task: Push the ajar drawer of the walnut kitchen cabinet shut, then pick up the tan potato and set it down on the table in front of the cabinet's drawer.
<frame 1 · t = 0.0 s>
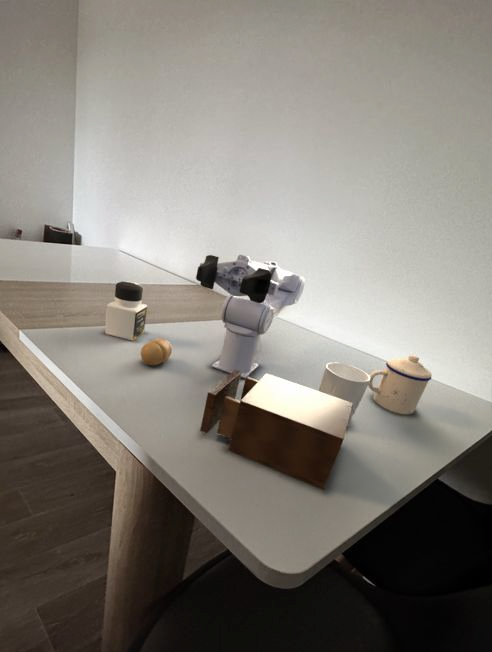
hand: (220, 279, 62), 22 cm above the table, tool horizontal, fingers open, 7 cm apart
drawer: (253, 411, 62), point 4 cm above the table, slide at 4.0 cm
potato: (155, 362, 82), on the table
cabinet: (284, 448, 62), on the table
teacup with lid: (386, 404, 86), on the table
white cup: (330, 419, 74), on the table
medicine bottle: (125, 334, 94), on the table
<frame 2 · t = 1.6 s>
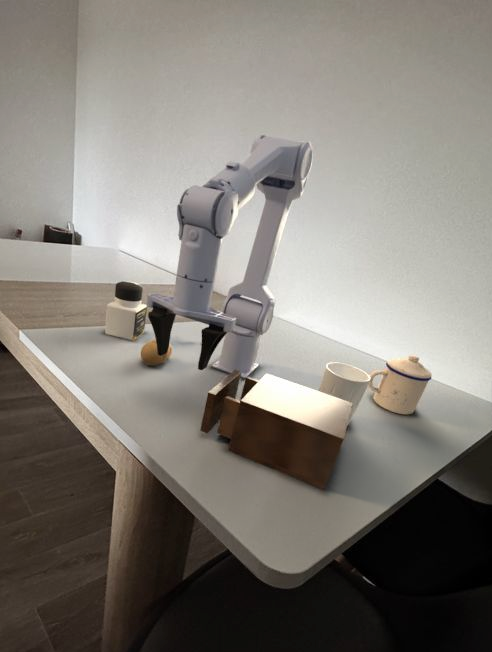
hand: (182, 360, 64), 8 cm above the table, tool pointing down, fingers open, 7 cm apart
nothing on the table moved.
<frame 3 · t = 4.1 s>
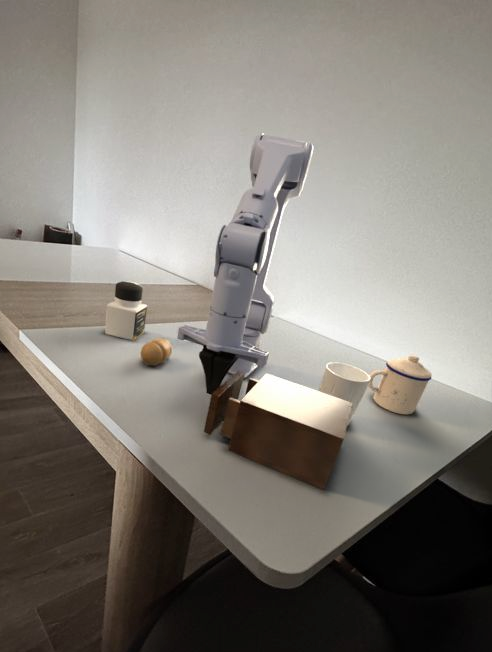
hand: (212, 392, 64), 5 cm above the table, tool pointing down, fingers closed
drawer: (257, 412, 62), point 4 cm above the table, slide at 3.4 cm, touching gripper
everything else where it was.
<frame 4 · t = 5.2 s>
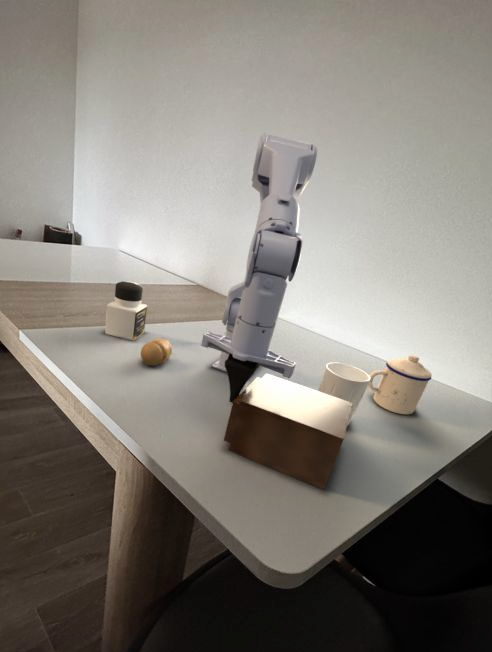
hand: (234, 401, 62), 5 cm above the table, tool pointing down, fingers closed, pressing on drawer
drawer: (277, 420, 61), point 4 cm above the table, slide at 0.0 cm, touching cabinet, gripper
everything else where it was.
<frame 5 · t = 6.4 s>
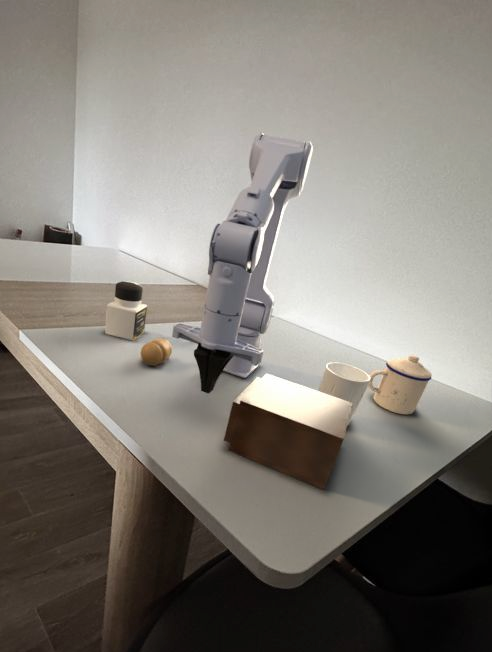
hand: (207, 390, 64), 5 cm above the table, tool pointing down, fingers closed
drawer: (277, 420, 61), point 4 cm above the table, slide at 0.0 cm, touching cabinet
everything else where it was.
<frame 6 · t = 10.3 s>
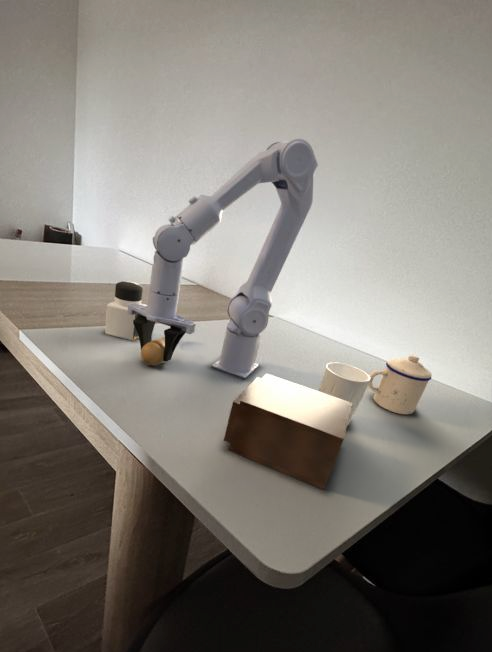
hand: (155, 356, 81), 1 cm above the table, tool pointing down, fingers closed on potato, 5 cm apart
potato: (155, 362, 82), on the table, touching gripper
everything else where it was.
when the fingers open (1 cm above the table, at t = 15.3 s): potato stays where it is, on the table.
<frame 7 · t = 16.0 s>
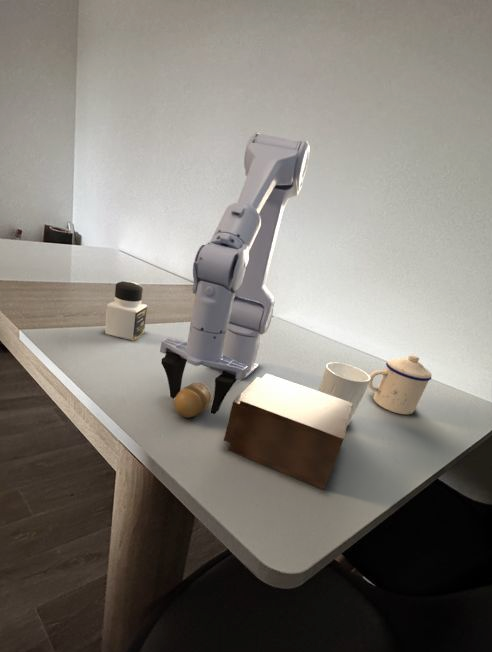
hand: (194, 403, 66), 2 cm above the table, tool pointing down, fingers open, 7 cm apart
potato: (192, 412, 66), on the table, tilted 9°
everything else where it was.
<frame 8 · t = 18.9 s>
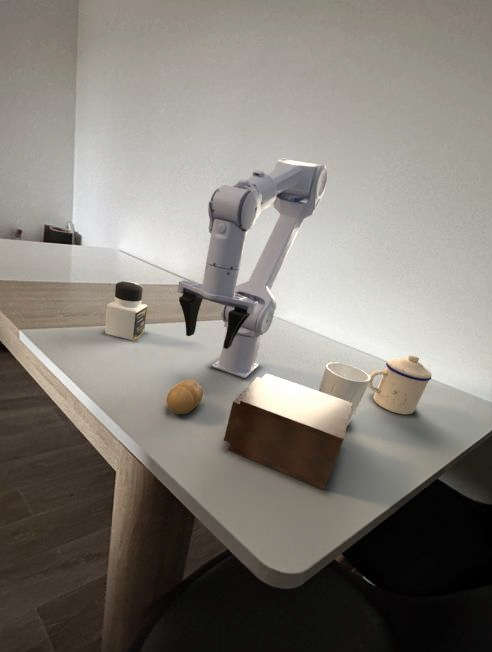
hand: (208, 340, 72), 9 cm above the table, tool pointing down, fingers open, 7 cm apart
potato: (192, 408, 66), point 1 cm above the table, tilted 44°
everything else where it was.
at the end: drawer slide at 0.0 cm; potato inside the target area in the drawer (0.6 cm from its centre), point 0.7 cm above the cabinet's base; the gripper is holding nothing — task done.
